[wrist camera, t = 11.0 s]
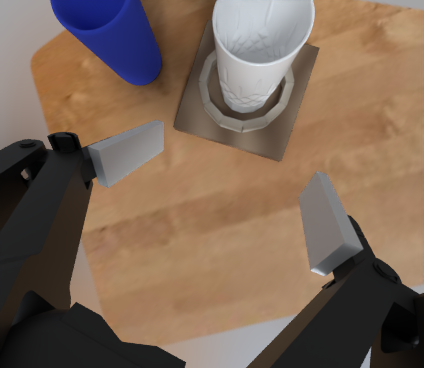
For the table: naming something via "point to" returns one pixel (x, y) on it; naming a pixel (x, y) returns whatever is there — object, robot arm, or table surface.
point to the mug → (114, 35)
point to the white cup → (257, 46)
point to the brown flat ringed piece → (235, 121)
